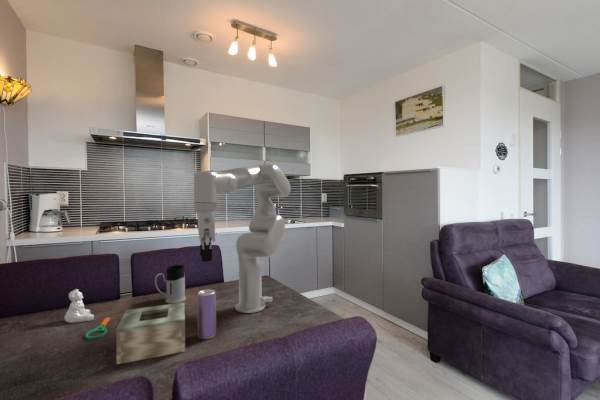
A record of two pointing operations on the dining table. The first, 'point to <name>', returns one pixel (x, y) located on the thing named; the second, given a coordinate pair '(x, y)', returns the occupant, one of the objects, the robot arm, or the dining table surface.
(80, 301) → the white creature statuette
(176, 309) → the tissue box
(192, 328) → the dining table surface
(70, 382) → the dining table surface
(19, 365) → the dining table surface
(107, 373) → the dining table surface
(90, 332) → the magnifying glass
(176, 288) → the white pitcher
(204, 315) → the beverage can
